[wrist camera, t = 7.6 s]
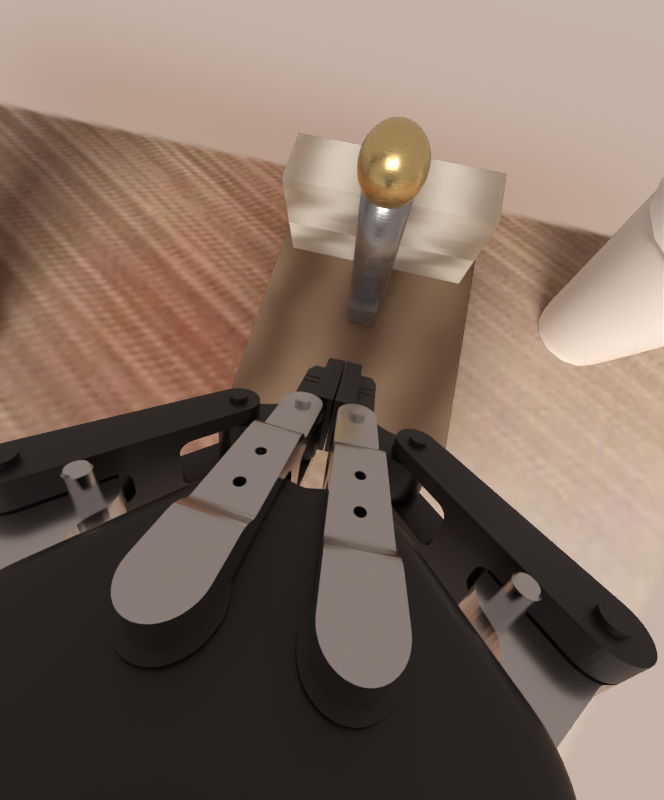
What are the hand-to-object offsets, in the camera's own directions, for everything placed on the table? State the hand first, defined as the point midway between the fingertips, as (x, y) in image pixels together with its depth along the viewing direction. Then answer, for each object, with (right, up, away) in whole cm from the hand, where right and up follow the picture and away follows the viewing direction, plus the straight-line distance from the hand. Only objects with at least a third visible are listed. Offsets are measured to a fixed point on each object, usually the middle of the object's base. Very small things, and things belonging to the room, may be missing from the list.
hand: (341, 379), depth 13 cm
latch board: (+2, +6, +12) cm, 13 cm away
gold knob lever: (+3, +9, +11) cm, 14 cm away
